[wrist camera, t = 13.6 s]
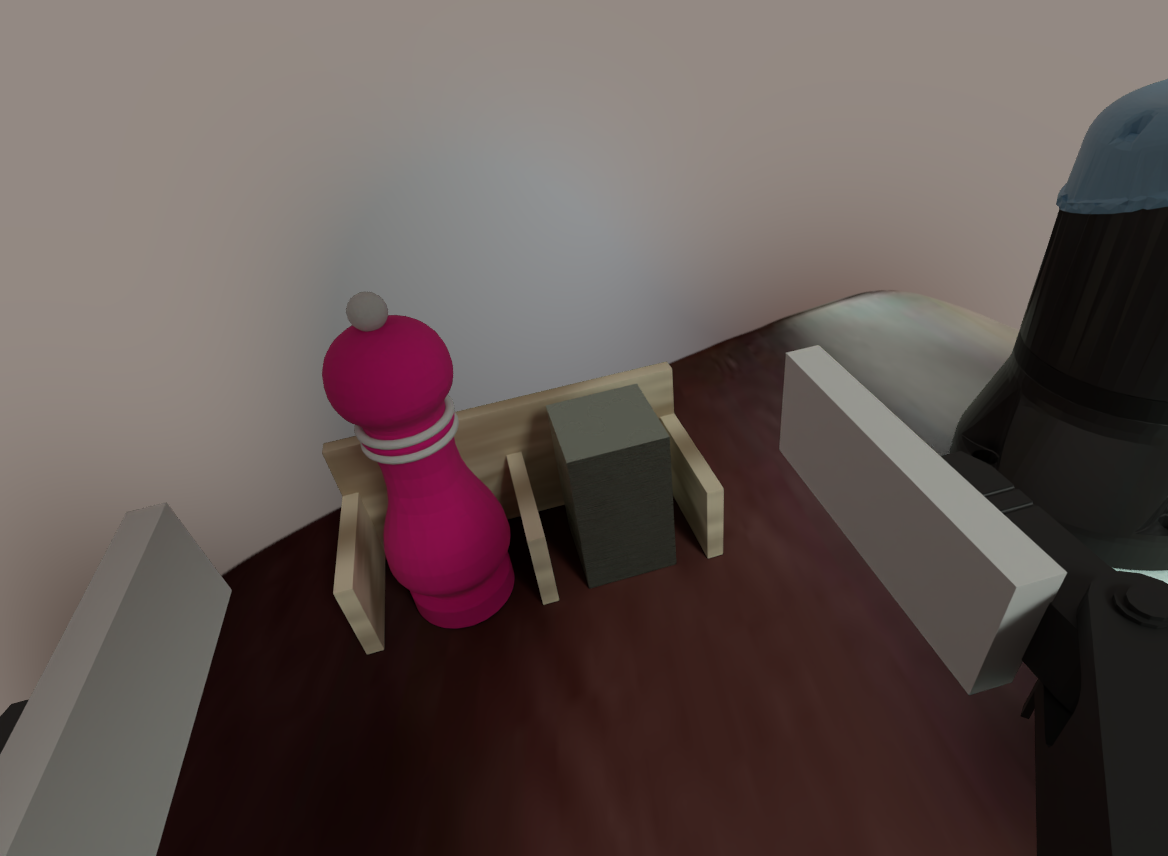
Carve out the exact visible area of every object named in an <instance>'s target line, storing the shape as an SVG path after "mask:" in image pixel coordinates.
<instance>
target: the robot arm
mask: <svg viewBox="0 0 1168 856" xmlns="http://www.w3.org/2000/svg"><path fill="white" fill-rule="evenodd" d="M1056 205H1057V206H1059V212H1058V216H1057V218H1056V222H1055V225H1054V228H1053V231H1052V234H1051V237H1050V240H1049V243H1048V246H1047V249H1046V252H1045V255H1044V258H1043V261H1042V264H1041V267H1040V270H1039V273H1038V276H1037V279H1036V282H1035V285H1034V288H1033V291H1032V294H1031V297H1030V300H1029V303H1028V306H1027V309H1026V312H1025V315H1024V318H1023V321H1022V324H1021V328H1020V331H1019V334H1018V337H1017V340H1016V343H1015V346H1014V349H1013V351H1012V354H1011V355H1010V357H1009V358H1008V359H1007V361H1006V362H1005V363H1004V364H1003V365H1002V367H1001V368H1000V369H999V370H998V372H997V373H996V374H995V375H994V376H993V378H992V379H991V380H990V381H989V383H988V384H987V385H986V386H985V388H984V389H983V390H982V391H981V392H980V394H979V395H978V396H977V397H976V399H975V400H974V401H973V402H972V403H971V405H970V406H969V407H968V408H967V410H966V411H965V412H964V414H963V415H962V417H961V419H960V421H959V422H958V425H957V428H956V431H955V434H954V438H953V441H952V445H951V448H950V454H947V455H943V456H939V455H938V454H937V453H936V452H935V451H934V450H933V449H932V448H931V447H930V446H929V445H927V444H926V443H925V442H924V441H923V440H922V439H921V438H920V437H919V436H918V435H917V434H915V433H914V432H913V431H912V430H911V429H910V428H909V427H908V426H907V425H906V424H904V423H903V422H902V421H901V420H900V419H899V418H898V417H897V416H896V415H895V414H894V413H892V412H891V411H890V410H889V409H888V408H887V407H886V406H885V405H884V404H883V403H882V402H880V401H879V400H878V399H877V398H876V397H875V396H874V395H873V394H872V393H871V392H870V391H868V390H867V389H866V388H865V387H864V386H863V385H862V384H861V383H860V382H859V381H858V380H856V379H855V378H854V377H853V376H852V375H851V374H850V373H849V372H848V371H847V370H846V369H844V368H843V367H842V366H841V365H840V364H839V363H838V362H837V361H836V360H835V359H834V358H832V357H831V356H830V355H829V354H828V353H827V352H826V351H825V350H824V349H823V348H822V347H820V346H819V345H816V346H812V347H808V348H804V349H800V350H795V351H791V352H787V353H786V360H785V374H784V389H783V403H782V418H781V432H780V447H779V450H780V451H781V452H782V454H783V455H784V456H785V458H786V459H787V460H788V461H789V463H790V464H791V465H792V467H793V468H794V469H795V470H796V472H797V473H798V474H799V476H800V477H801V478H802V480H803V481H804V482H805V483H806V485H807V486H808V487H809V489H810V490H811V491H812V492H813V494H814V495H815V496H816V498H817V499H818V500H819V502H820V503H821V504H822V505H823V507H824V508H825V509H826V511H827V512H828V513H829V515H830V516H831V517H832V518H833V520H834V521H835V522H836V524H837V525H838V526H839V527H840V529H841V530H842V531H843V533H844V534H845V535H846V537H847V538H848V539H849V540H850V542H851V543H852V544H853V546H854V547H855V548H856V550H857V551H858V552H859V553H860V555H861V556H862V557H863V559H864V560H865V561H866V562H867V564H868V565H869V566H870V568H871V569H872V570H873V572H874V573H875V574H876V575H877V577H878V578H879V579H880V581H881V582H882V583H883V584H884V586H885V587H886V588H887V590H888V591H889V592H890V594H891V595H892V596H893V597H894V599H895V600H896V601H897V603H898V604H899V605H900V607H901V608H902V609H903V610H904V612H905V613H906V614H907V616H908V617H909V618H910V619H911V621H912V622H913V623H914V625H915V626H916V627H917V629H918V630H919V631H920V632H921V634H922V635H923V636H924V638H925V639H926V640H927V642H928V643H929V644H930V645H931V647H932V648H933V649H934V651H935V652H936V653H937V654H938V656H939V657H940V658H941V660H942V661H943V662H944V664H945V665H946V666H947V667H948V669H949V670H950V671H951V673H952V674H953V675H954V676H955V678H956V679H957V680H958V682H959V683H960V684H961V686H962V687H963V688H964V689H965V691H966V692H967V693H968V695H972V694H975V693H978V692H982V691H985V690H988V689H992V688H995V687H998V686H1001V685H1005V684H1008V683H1011V682H1012V681H1013V679H1014V677H1015V675H1016V673H1017V671H1018V669H1019V667H1020V665H1021V663H1022V661H1023V662H1024V663H1025V664H1026V665H1027V666H1028V667H1029V668H1030V670H1031V671H1032V672H1033V673H1034V674H1035V675H1036V676H1037V678H1038V680H1037V682H1036V684H1035V686H1034V687H1033V689H1032V691H1031V693H1030V695H1029V697H1028V698H1027V700H1026V702H1025V704H1024V706H1023V710H1022V713H1021V717H1024V718H1027V719H1029V718H1030V716H1031V714H1032V712H1033V711H1034V709H1035V764H1036V827H1037V856H1168V584H1167V583H1165V582H1163V581H1161V580H1158V579H1155V578H1152V577H1149V576H1146V575H1143V574H1140V573H1132V572H1123V571H1116V570H1114V569H1113V568H1112V567H1116V568H1123V569H1133V570H1150V571H1155V570H1168V79H1166V80H1163V81H1160V82H1156V83H1153V84H1150V85H1148V86H1145V87H1142V88H1140V89H1138V90H1135V91H1133V92H1131V93H1129V94H1127V95H1125V96H1123V97H1121V98H1120V99H1118V100H1116V101H1115V102H1113V103H1112V104H1111V105H1109V106H1108V107H1107V108H1106V109H1104V110H1103V111H1102V112H1101V113H1100V114H1099V115H1098V116H1097V118H1096V119H1095V120H1094V121H1093V123H1092V124H1091V126H1090V127H1089V129H1088V131H1087V133H1086V135H1085V138H1084V140H1083V143H1082V145H1081V148H1080V151H1079V153H1078V156H1077V158H1076V161H1075V164H1074V166H1073V169H1072V171H1071V174H1070V176H1069V179H1068V182H1067V183H1066V184H1065V186H1064V187H1063V188H1062V189H1061V190H1060V192H1059V194H1058V198H1057V203H1056ZM231 591H232V590H231V588H230V587H229V586H228V584H227V583H226V582H225V580H224V579H223V578H222V576H221V575H220V574H219V572H218V571H217V570H216V568H215V567H214V566H213V565H212V563H211V562H210V560H209V559H208V558H207V556H206V555H205V554H204V552H203V551H202V550H201V548H200V547H199V546H198V544H197V543H196V542H195V540H194V539H193V538H192V536H191V535H190V533H189V532H188V531H187V529H186V528H185V527H184V525H183V524H182V523H181V521H180V520H179V519H178V517H177V516H176V515H175V513H174V512H173V511H172V509H171V508H170V507H169V505H168V504H167V503H163V504H158V505H154V506H150V507H146V508H142V509H138V510H134V511H130V512H127V513H126V514H125V516H124V518H123V520H122V522H121V524H120V526H119V528H118V530H117V532H116V534H115V535H114V538H113V539H112V541H111V543H110V545H109V547H108V549H107V551H106V553H105V555H104V557H103V558H102V561H101V562H100V564H99V566H98V568H97V570H96V572H95V574H94V576H93V578H92V580H91V582H90V583H89V585H88V587H87V589H86V591H85V593H84V595H83V597H82V599H81V601H80V603H79V605H78V606H77V609H76V610H75V612H74V614H73V616H72V618H71V620H70V622H69V624H68V626H67V628H66V629H65V632H64V633H63V635H62V637H61V639H60V641H59V643H58V645H57V647H56V649H55V651H54V653H53V654H52V656H51V658H50V660H49V662H48V664H47V666H46V668H45V670H44V672H43V674H42V676H41V678H40V679H39V681H38V683H37V685H36V687H35V689H34V691H33V693H32V695H31V697H30V699H29V700H25V701H21V702H18V703H14V704H11V705H10V706H9V707H8V709H7V710H6V711H5V712H4V713H3V714H2V715H1V716H0V856H156V853H157V850H158V846H159V843H160V839H161V836H162V832H163V829H164V825H165V822H166V818H167V815H168V812H169V808H170V805H171V801H172V798H173V794H174V791H175V787H176V784H177V780H178V777H179V773H180V770H181V766H182V763H183V759H184V756H185V752H186V749H187V745H188V742H189V738H190V735H191V731H192V728H193V724H194V721H195V717H196V714H197V710H198V707H199V703H200V700H201V696H202V693H203V689H204V686H205V682H206V679H207V675H208V672H209V668H210V665H211V661H212V658H213V654H214V651H215V647H216V644H217V640H218V637H219V633H220V630H221V626H222V623H223V619H224V616H225V612H226V609H227V605H228V602H229V598H230V595H231Z"/></svg>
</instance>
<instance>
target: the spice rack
mask: <svg viewBox="0 0 1168 856" xmlns="http://www.w3.org/2000/svg"><path fill="white" fill-rule="evenodd" d="M633 384H638V386H639V388H640V389H641V391H642V392H643V394H644V396H645V397H646V399H647V401H648V402H649V404H650V405H651V407H652V409H653V410H654V412H655V414H656V415H657V417H658V418H659V420H660V422H661V423H662V425H663V427H664V428H665V430H666V432H667V433H668V435H669V436H670V452H671V471H672V490H673V496H674V498H675V500H676V502H677V504H678V505H679V507H680V509H681V511H682V513H683V514H684V516H685V518H686V520H687V522H688V523H689V525H690V527H691V529H692V531H693V533H694V534H695V536H696V538H697V540H698V542H699V543H700V545H701V547H702V549H703V551H704V553H705V554H706V556H707V558H711V557H715V556H718V555H722V554H723V506H724V488H723V487H722V485H721V484H720V482H719V481H718V479H717V478H716V476H715V475H714V473H713V472H712V470H711V469H710V467H709V466H708V464H707V463H706V461H705V460H704V458H703V457H702V455H701V454H700V452H699V451H698V449H697V447H696V446H695V444H694V443H693V441H692V440H691V438H690V437H689V435H688V434H687V432H686V431H685V429H684V428H683V426H682V425H681V423H680V422H679V420H678V419H677V417H676V416H675V414H674V401H673V379H672V368H671V367H670V365H669V364H668V363H667V362H663V363H658V364H655V365H650V366H646V367H642V368H638V369H634V370H630V371H625V372H621V373H617V374H613V375H608V376H604V377H600V378H596V379H591V380H587V381H583V382H579V383H575V384H570V385H567V386H562V387H558V388H554V389H550V390H546V391H541V392H537V393H533V394H529V395H525V396H521V397H516V398H512V399H508V400H504V401H499V402H496V403H491V404H487V405H483V406H478V407H475V408H470V409H466V410H462V411H457V412H455V413H456V414H457V416H458V421H459V425H458V429H457V432H456V434H455V435H454V438H455V444H456V446H457V449H458V451H459V453H460V456H461V458H462V459H463V461H464V462H465V464H466V465H467V467H468V468H469V469H470V470H471V471H472V472H473V473H474V474H475V475H476V476H477V477H478V478H479V479H480V480H481V481H482V482H483V483H484V484H485V485H486V486H487V487H488V488H489V489H490V490H491V491H492V493H493V494H494V495H495V497H496V498H497V500H498V501H499V502H500V504H501V506H502V508H503V510H504V512H505V515H506V517H507V520H508V519H512V518H515V517H519V516H521V518H522V522H523V526H524V530H525V534H526V538H527V543H528V547H529V550H530V554H531V558H532V562H533V566H534V570H535V574H536V578H537V582H538V586H539V590H540V594H541V598H542V602H543V605H545V604H548V603H552V602H555V601H559V596H558V592H557V588H556V583H555V579H554V574H553V570H552V566H551V561H550V557H549V552H548V548H547V544H546V539H545V535H544V531H543V528H542V524H541V521H540V517H539V513H538V511H542V510H546V509H550V508H553V507H557V506H561V505H565V503H564V498H563V493H562V488H561V483H560V477H559V472H558V467H557V462H556V457H555V451H554V446H553V441H552V436H551V430H550V425H549V420H548V415H547V410H546V405H550V404H554V403H558V402H562V401H566V400H571V399H575V398H579V397H583V396H587V395H591V394H595V393H599V392H604V391H608V390H612V389H616V388H620V387H624V386H628V385H633ZM322 454H323V456H324V458H325V460H326V462H327V464H328V467H329V468H330V471H331V473H332V475H333V477H334V479H335V481H336V483H337V486H338V488H339V490H340V492H341V494H342V496H343V497H342V507H341V517H340V528H339V538H338V549H337V559H336V569H335V580H334V590H333V594H334V596H335V598H336V600H337V602H338V603H339V605H340V607H341V609H342V611H343V612H344V614H345V616H346V618H347V620H348V621H349V623H350V625H351V627H352V629H353V630H354V632H355V634H356V636H357V638H358V639H359V641H360V643H361V645H362V647H363V648H364V650H365V652H366V654H371V653H374V652H378V651H382V650H384V632H385V551H384V536H383V535H384V524H385V517H386V513H387V508H388V495H387V487H386V483H385V480H384V477H383V474H382V470H381V468H380V466H379V464H378V462H376V461H373V460H371V459H369V458H368V457H367V456H366V455H365V454H364V453H363V451H362V449H361V443H360V441H359V440H358V439H357V437H356V436H353V437H349V438H345V439H340V440H336V441H332V442H328V443H324V444H323V451H322Z"/></svg>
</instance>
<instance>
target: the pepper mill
mask: <svg viewBox="0 0 1168 856" xmlns="http://www.w3.org/2000/svg"><path fill="white" fill-rule="evenodd" d="M346 313H347V316H348V319H349V321H350V323H351V324H352V326H350V327H349V328H347V329H346V330H345V331H344V332H342V334H340V335H339V336H338V337H337V338H336V339H335V340H334V341H333V343H332V344H331V345H330V347H329V350H328V351H327V353H326V356H325V358H324V363H323V371H322V377H323V384H324V389H325V392H326V395H327V398H328V400H329V401H330V403H331V405H332V406H333V408H334V409H335V410H336V411H337V412H338V414H339V415H341V416H342V417H343V418H344V419H345V420H347V421H348V422H350V423H352V424H355V429H354V431H355V434H356V437H357V439H358V440H359V441H360V443H361V449H362V451H363V453H364V454H365V455H366V456H367V457H368V458H369V459H371V460H373V461H376V462H378V464H379V466H380V468H381V470H382V474H383V477H384V480H385V483H386V487H387V495H388V508H387V513H386V517H385V524H384V535H383V536H384V551H385V555H386V558H387V561H388V564H389V568H390V570H391V572H392V574H393V575H394V577H395V578H396V579H397V581H398V582H399V583H400V584H402V585H403V586H404V587H406V588H407V589H409V590H410V592H411V595H412V597H413V599H414V602H415V604H416V607H417V609H418V611H419V613H420V614H421V615H422V617H423V618H425V619H426V620H427V621H429V622H430V623H432V624H434V625H436V626H439V627H443V628H456V629H457V628H463V627H469V626H473V625H475V624H478V623H480V622H482V621H484V620H487V619H488V618H489V617H491V616H492V615H493V614H495V613H496V612H497V611H499V609H500V608H501V607H502V606H503V605H504V604H505V603H506V601H507V600H508V598H509V596H510V594H511V592H512V590H513V586H514V571H513V567H512V563H511V560H510V557H509V553H508V548H509V544H510V526H509V522H508V520H507V517H506V515H505V512H504V510H503V508H502V506H501V504H500V502H499V501H498V500H497V498H496V497H495V495H494V494H493V493H492V491H491V490H490V489H489V488H488V487H487V486H486V485H485V484H484V483H483V482H482V481H481V480H480V479H479V478H478V477H477V476H476V475H475V474H474V473H473V472H472V471H471V470H470V469H469V468H468V467H467V465H466V464H465V462H464V461H463V459H462V458H461V456H460V453H459V451H458V449H457V446H456V444H455V438H454V435H455V434H456V432H457V429H458V425H459V421H458V416H457V414H456V413H455V411H454V403H453V401H452V399H451V398H450V396H449V395H448V393H449V390H450V388H451V386H452V381H453V365H452V360H451V358H450V355H449V352H448V349H447V347H446V345H445V344H444V342H443V341H442V339H441V338H440V337H439V335H438V334H437V333H436V332H435V331H434V330H433V329H431V328H430V327H429V326H427V325H426V324H424V323H423V322H421V321H419V320H416V319H413V318H410V317H406V316H398V315H388V309H387V305H386V303H385V302H384V301H383V299H382V298H381V297H380V296H378V295H376V294H374V293H372V292H360V293H358V294H356V295H355V296H353V297H352V298H351V299H350V301H349V302H348V304H347V308H346Z"/></svg>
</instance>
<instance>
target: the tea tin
mask: <svg viewBox="0 0 1168 856" xmlns="http://www.w3.org/2000/svg"><path fill="white" fill-rule="evenodd" d="M546 410H547V415H548V420H549V425H550V430H551V436H552V441H553V446H554V451H555V457H556V462H557V467H558V472H559V477H560V483H561V488H562V493H563V498H564V503H565V509H566V514H567V519H568V524H569V528H570V531H571V534H572V537H573V540H574V543H575V546H576V549H577V553H578V556H579V559H580V562H581V565H582V568H583V571H584V574H585V577H586V580H587V583H588V586H589V588H593V587H596V586H600V585H604V584H607V583H611V582H614V581H618V580H621V579H625V578H628V577H632V576H636V575H639V574H643V573H646V572H650V571H653V570H657V569H660V568H664V567H668V566H671V565H675V564H676V548H675V529H674V510H673V490H672V471H671V452H670V436H669V435H668V433H667V432H666V430H665V428H664V427H663V425H662V423H661V422H660V420H659V418H658V417H657V415H656V414H655V412H654V410H653V409H652V407H651V405H650V404H649V402H648V401H647V399H646V397H645V396H644V394H643V392H642V391H641V389H640V388H639V386H638V384H633V385H628V386H624V387H620V388H616V389H612V390H608V391H604V392H599V393H595V394H591V395H587V396H583V397H579V398H575V399H571V400H566V401H562V402H558V403H554V404H550V405H546Z"/></svg>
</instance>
